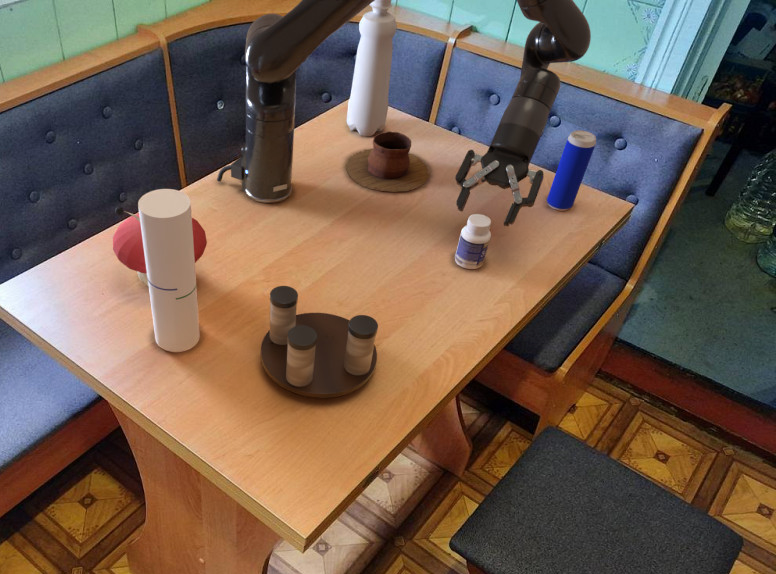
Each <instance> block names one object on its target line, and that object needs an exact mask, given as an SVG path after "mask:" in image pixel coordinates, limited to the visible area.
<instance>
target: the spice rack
mask: <svg viewBox="0 0 776 574" xmlns="http://www.w3.org/2000/svg"><path fill="white" fill-rule="evenodd" d="M269 302H270V306H269V309H270V310H269V330H268V331H267V332H266V334H265V335H264V336H263V339H262V341H261V346H260V360H261V364H262V366H263V369H264V371H265V373H266V374H267V376H269V378H271V380H272V381H273V382H274V383H276V384H278V385H279V386H280V387H281V388H283V389H285V390H287V391H289V392H292V393H295V394H296V395H299V396H303V397H310V398H317V399H319V398H321V399H326V398H335V397H341V396H345V395H347V394H350V393H352V392H354V391H357V390H359V389H360V388H362V386H364V385H365V384H367V382H368V381H369V380H370V379H371V377H372V376H373V374H374V373H375V369H376V367H377V361H378V352H377V347H376V344H375V342H376V338H377V337H376V336H377V334H378V331H379V323H378V321H377V320H376V319H375V318H374V317H372V316H369V315H366V314H358V315H355V316H352V317H351V318H350V319H349V318H345V317H343V316H340V315H336V314H333V313H326V312H304V313H298V314H297V308H298V302H299V293H298V291H297V290H296V289H295V288H294V287H292V286H288V285H279V286H275V287H274V288H272V289H271V290H270V293H269Z"/></svg>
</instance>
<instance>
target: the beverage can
mask: <svg viewBox="0 0 776 574" xmlns="http://www.w3.org/2000/svg"><path fill="white" fill-rule="evenodd" d="M596 144H597V136H596V135H595V134H594V133H592V132H590V131H587V130H582V129H576V130H574V131H571V133H570V134H569V135H568V137H567V139H566V142H565V145H564V148H563V151H562V153H561V157H560V160H559V162H558V165H557V168H556V171H555V174H554V176H553V179H552V183H551V186H550V189H549V191H548V195H547V197H546V202H547V204H548V206H549V207H550V208H551V209H553V210H555V211H559V212H564V211H568V210H570V209H571V208H572V207H573V206H574V203H575V201H576V198H577V195H578V193H579V190H580V187H581V186H582V185H581V184H582V182H583V179H584V176H585V174H586V171H587V168H588V166H589V163H590V160H591V158H592V155H593V152H594V150H595V147H596Z"/></svg>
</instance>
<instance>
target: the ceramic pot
mask: <svg viewBox="0 0 776 574" xmlns="http://www.w3.org/2000/svg"><path fill="white" fill-rule="evenodd" d="M372 146H373V148H370V149H363V151H359V152H356V153H354V154H353V155H350V156H349V158H348V160H347V161H346V162H347V163H346V164H345V167H346V168H345V170H346V173H348V175H349V177H350V178H351V179H352V180H353V181H354V182H356V184H358V185H360V186H361V187H364V188H368V189H369V190H372V189H373V190H374V191H379V192H392V193H396V192H409V191H413V190H414V189H417V188H419V187H420V186H423V185H424V184H426V182H428V179H429V177H430V176H431V175H430V173H429V168H428V166H427V164H426V163H425V162H424V161H423V160H421V159H420V158H419V157H418V156H416V155H414V154H411V153H410V150H411V148H412V140H411V139H410V137H409V136H408V135H406V134H404V133H401V132H399V131H390V130H388V131H385V132H380V133H378V134H376V135H375V136H374V137H373V140H372Z"/></svg>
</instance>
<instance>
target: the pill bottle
mask: <svg viewBox="0 0 776 574" xmlns="http://www.w3.org/2000/svg"><path fill="white" fill-rule="evenodd" d="M491 225H492V220H491V218H489V216H487V215H485V214H482V213H473V214H471V215H470V216H468V217H467V221H466V225H464V226H463V227H462V229H461V231H460V235H459V239H458V244H457V247H456V252H455V254H454V262H455V263H456V265H458V266H459V267H461V268H464V269H467V270H476V269H479V268H481V267H482V266H483V265H484V262H485V259H486V255H487V251H488V249H489V246H490V245H489V244H490V241H491V238H492V237H491V236H492V234H491V233H492V232H491V231H490V228H491Z"/></svg>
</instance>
